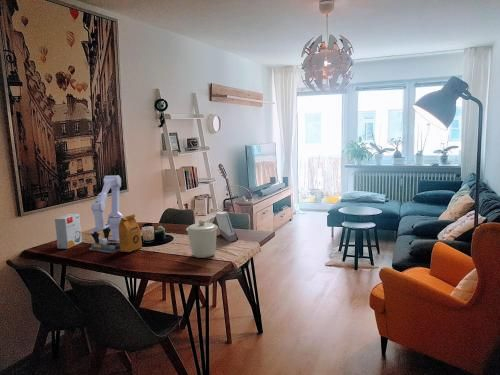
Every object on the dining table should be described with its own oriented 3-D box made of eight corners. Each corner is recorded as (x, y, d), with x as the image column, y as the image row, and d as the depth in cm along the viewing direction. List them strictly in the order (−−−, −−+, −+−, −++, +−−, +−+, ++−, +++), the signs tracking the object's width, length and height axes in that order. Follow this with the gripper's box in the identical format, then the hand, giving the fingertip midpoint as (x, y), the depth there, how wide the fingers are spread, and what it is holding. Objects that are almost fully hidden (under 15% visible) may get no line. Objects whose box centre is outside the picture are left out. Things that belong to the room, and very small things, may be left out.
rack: (103, 244, 255) (103, 239, 254) (126, 247, 246) (126, 242, 245) (89, 249, 244) (88, 244, 244) (112, 253, 235) (111, 247, 235)
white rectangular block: (100, 245, 250) (99, 237, 249) (107, 246, 247) (107, 238, 246) (96, 246, 247) (95, 238, 247) (104, 247, 244) (103, 239, 244)
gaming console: (240, 240, 250) (233, 211, 246) (230, 244, 248) (222, 215, 244) (230, 231, 272) (222, 205, 267) (220, 235, 270) (212, 208, 265)
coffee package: (144, 248, 243) (141, 214, 239) (129, 254, 232) (125, 218, 229) (133, 246, 248) (130, 212, 245) (118, 251, 238) (114, 217, 234)
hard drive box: (67, 249, 248) (64, 219, 245) (57, 248, 250) (53, 218, 246) (82, 241, 263) (79, 213, 260) (72, 241, 265) (69, 213, 261)
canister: (190, 262, 213) (187, 225, 210) (186, 252, 231) (183, 218, 227) (222, 257, 218) (220, 221, 215) (216, 248, 236) (214, 215, 232)
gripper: (104, 217, 253) (106, 237, 255) (85, 223, 240) (88, 244, 242) (111, 218, 249) (114, 238, 252) (93, 224, 237) (96, 245, 239)
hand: (101, 241), depth 247 cm, fingers open, 7 cm apart
